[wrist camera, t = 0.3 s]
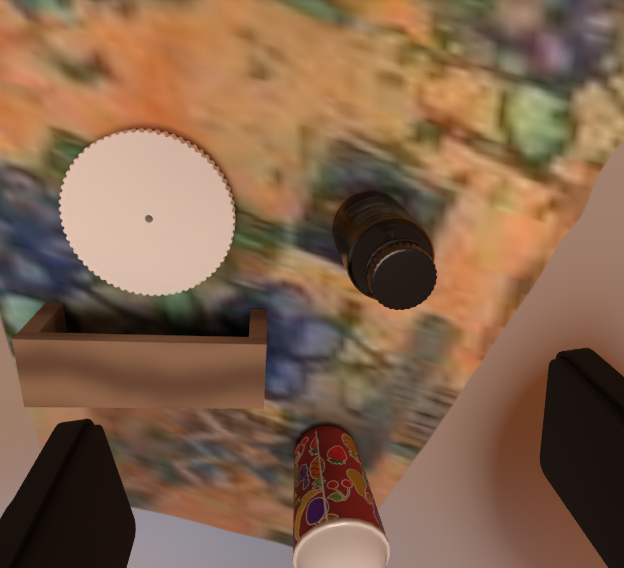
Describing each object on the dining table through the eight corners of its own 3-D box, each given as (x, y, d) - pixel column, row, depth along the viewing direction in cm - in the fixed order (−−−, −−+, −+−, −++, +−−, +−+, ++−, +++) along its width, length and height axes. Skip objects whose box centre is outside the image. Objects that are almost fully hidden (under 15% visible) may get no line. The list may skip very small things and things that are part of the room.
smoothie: (272, 435, 54) (276, 625, 35) (341, 402, 53) (382, 580, 34) (308, 485, 57) (328, 682, 39) (373, 454, 56) (426, 642, 38)
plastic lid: (242, 139, 42) (241, 143, 39) (230, 291, 47) (228, 302, 45) (66, 115, 40) (53, 118, 37) (74, 277, 45) (63, 288, 43)
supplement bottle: (324, 256, 46) (343, 315, 35) (341, 184, 43) (367, 223, 33) (395, 268, 47) (435, 329, 36) (415, 198, 45) (464, 240, 34)
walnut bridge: (46, 302, 45) (12, 339, 39) (266, 309, 48) (266, 344, 41) (55, 363, 48) (24, 406, 42) (263, 366, 50) (263, 408, 44)
